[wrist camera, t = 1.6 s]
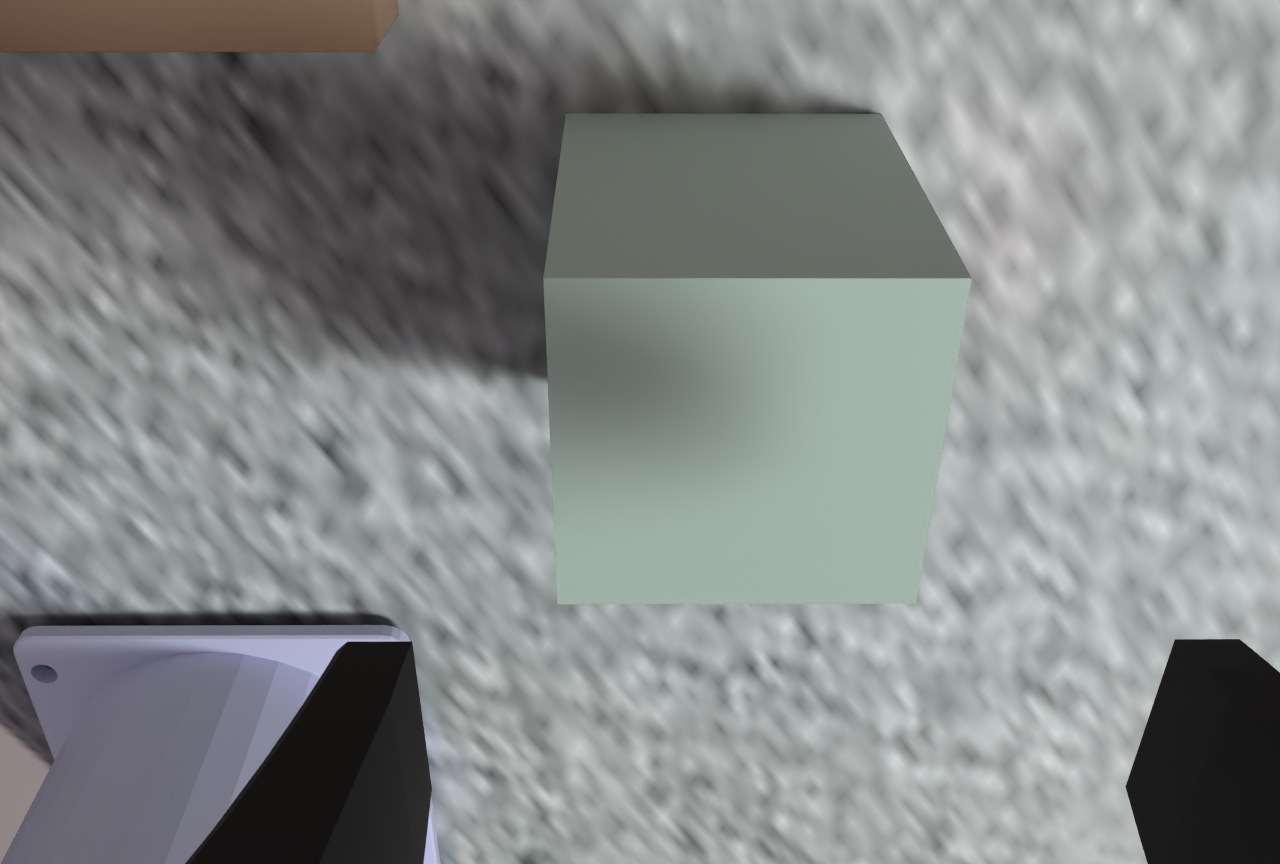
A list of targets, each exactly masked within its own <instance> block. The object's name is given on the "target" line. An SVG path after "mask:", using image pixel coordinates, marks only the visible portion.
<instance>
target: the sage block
mask: <svg viewBox="0 0 1280 864" xmlns="http://www.w3.org/2000/svg"><path fill="white" fill-rule="evenodd" d="M971 280H972V278H971V276H970V274H969V273H968V271H967V269H966V267H965V265H964V263H963V262H962V260H961V258H960V256H959V254H958V253H957V251H956V249H955V247H954V245H953V243H952V242H951V240H950V238H949V236H948V234H947V232H946V231H945V229H944V227H943V225H942V223H941V222H940V220H939V218H938V216H937V214H936V212H935V211H934V209H933V207H932V205H931V203H930V202H929V200H928V198H927V196H926V194H925V192H924V191H923V189H922V187H921V185H920V183H919V182H918V180H917V178H916V176H915V174H914V172H913V171H912V169H911V167H910V165H909V163H908V161H907V160H906V158H905V156H904V154H903V152H902V151H901V149H900V147H899V145H898V143H897V141H896V140H895V138H894V136H893V134H892V132H891V131H890V129H889V127H888V125H887V123H886V121H885V120H884V118H883V116H882V114H661V113H566V116H565V123H564V131H563V138H562V145H561V153H560V160H559V167H558V174H557V182H556V189H555V196H554V204H553V211H552V218H551V225H550V233H549V240H548V247H547V255H546V262H545V269H544V277H543V284H544V306H545V329H546V352H547V375H548V398H549V420H550V443H551V466H552V489H553V512H554V534H555V557H556V580H557V603H558V604H916V600H917V594H918V588H919V582H920V577H921V571H922V565H923V559H924V553H925V547H926V542H927V536H928V530H929V524H930V518H931V513H932V507H933V501H934V495H935V489H936V483H937V478H938V472H939V466H940V460H941V454H942V449H943V443H944V437H945V431H946V425H947V420H948V414H949V408H950V402H951V396H952V390H953V385H954V379H955V373H956V367H957V361H958V356H959V350H960V344H961V338H962V332H963V326H964V321H965V315H966V309H967V303H968V297H969V292H970V286H971Z"/></svg>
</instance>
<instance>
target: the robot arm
mask: <svg viewBox="0 0 1280 864" xmlns="http://www.w3.org/2000/svg"><path fill="white" fill-rule="evenodd" d="M13 651H14V656H15V659H16V661H17V664H18V667H19V669H20V672H21V674H22V677H23V680H24V682H25V685H26V688H27V690H28V693H29V695H30V698H31V701H32V703H33V706H34V709H35V711H36V714H37V716H38V719H39V722H40V724H41V727H42V730H43V732H44V735H45V737H46V740H47V743H48V745H49V748H50V751H51V753H52V756H53V758H54V762H53V764H52V766H51V768H50V770H49V772H48V774H47V776H46V778H45V780H44V782H43V784H42V786H41V788H40V790H39V792H38V793H37V795H36V797H35V799H34V801H33V803H32V805H31V807H30V809H29V811H28V813H27V815H26V816H25V818H24V820H23V822H22V824H21V826H20V828H19V830H18V832H17V834H16V836H15V838H14V840H13V842H12V843H11V845H10V847H9V849H8V851H7V853H6V855H5V857H4V859H3V861H2V863H1V864H440V858H439V850H438V843H437V835H436V828H435V820H434V813H433V806H432V798H431V792H432V787H431V779H430V772H429V765H428V757H427V750H426V742H425V735H424V727H423V720H422V712H421V705H420V698H419V690H418V683H417V675H416V668H415V660H414V653H413V645H412V641H410V640H409V638H408V636H407V635H406V634H405V633H404V632H403V631H402V630H400V629H398V628H396V627H393V626H387V625H194V626H34V627H29V628H27V629H26V630H24V631H23V632H22V633H21V635H20V636H19V638H18V640H17V641H16V643H15V645H14V647H13ZM43 665H47V666H49V667H51V668H53V669H48V668H47V667H45V666H43ZM1126 789H1127V793H1128V797H1129V800H1130V804H1131V807H1132V811H1133V814H1134V818H1135V822H1136V825H1137V829H1138V832H1139V836H1140V839H1141V843H1142V846H1143V849H1144V853H1145V856H1146V859H1147V862H1148V864H1280V673H1279V672H1278V671H1277V670H1276V669H1275V668H1273V667H1272V666H1271V665H1270V664H1269V663H1268V662H1266V661H1265V660H1264V659H1263V658H1262V657H1260V656H1259V655H1258V654H1257V653H1256V652H1254V651H1253V650H1252V649H1251V648H1249V647H1248V646H1247V645H1246V644H1245V643H1243V642H1242V641H1241V640H1240V639H1204V640H1175V641H1174V644H1173V647H1172V650H1171V653H1170V656H1169V659H1168V662H1167V665H1166V668H1165V671H1164V674H1163V677H1162V680H1161V683H1160V686H1159V689H1158V692H1157V695H1156V698H1155V701H1154V704H1153V707H1152V710H1151V713H1150V716H1149V719H1148V722H1147V725H1146V728H1145V731H1144V734H1143V737H1142V740H1141V743H1140V746H1139V749H1138V752H1137V755H1136V758H1135V761H1134V764H1133V767H1132V770H1131V773H1130V775H1129V778H1128V781H1127V784H1126Z"/></svg>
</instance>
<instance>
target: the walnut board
mask: <svg viewBox="0 0 1280 864" xmlns="http://www.w3.org/2000/svg"><path fill="white" fill-rule="evenodd" d="M397 16H398V7H397V0H0V52H374V51H375V50H376V48H377V47H378V45H379V44H380V42H381V41H382V39H383V37H384V36H385V34H386V33H387V31H388V30H389V28H390V27H391V25H392V23H393V22H394V20H395V19H396V17H397Z"/></svg>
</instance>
